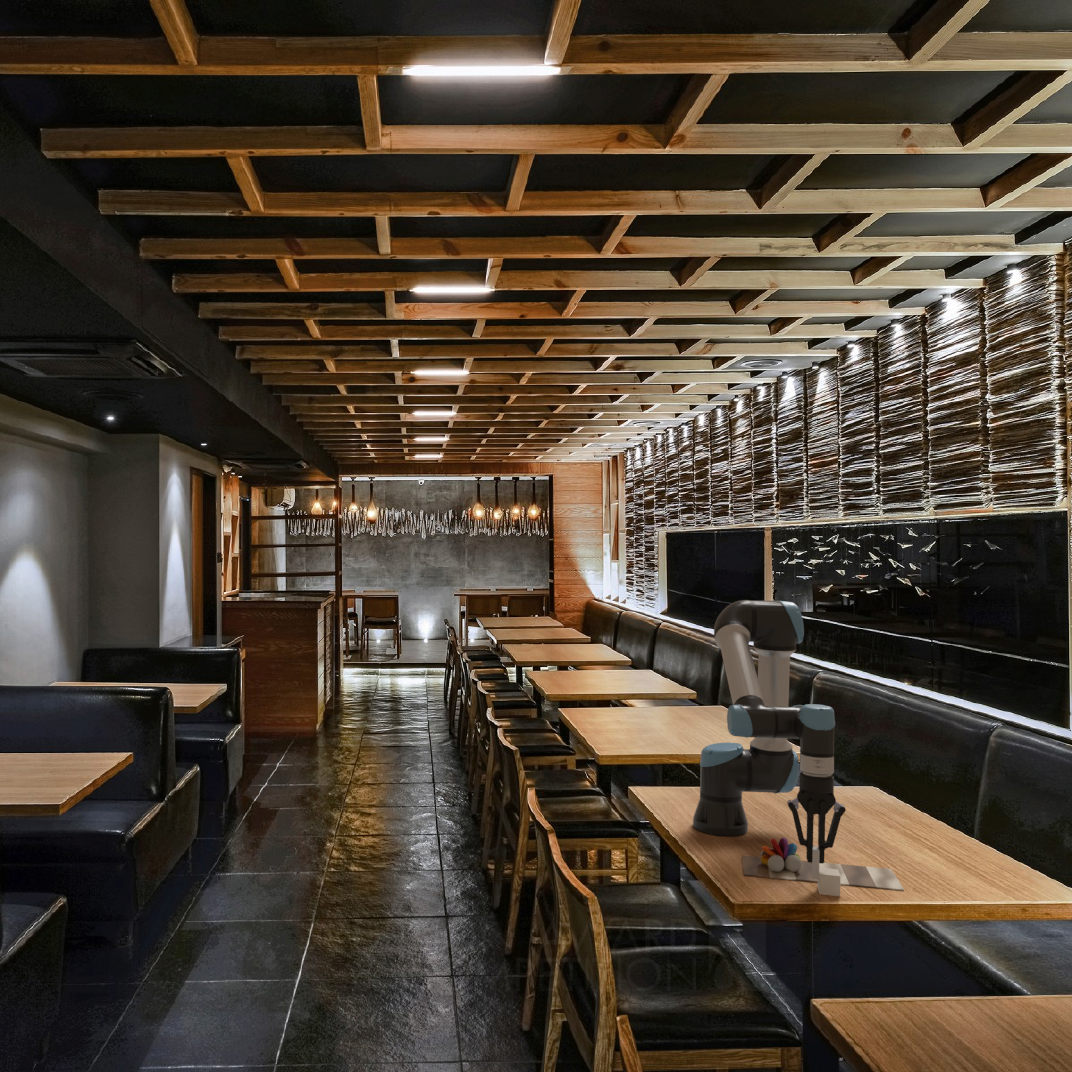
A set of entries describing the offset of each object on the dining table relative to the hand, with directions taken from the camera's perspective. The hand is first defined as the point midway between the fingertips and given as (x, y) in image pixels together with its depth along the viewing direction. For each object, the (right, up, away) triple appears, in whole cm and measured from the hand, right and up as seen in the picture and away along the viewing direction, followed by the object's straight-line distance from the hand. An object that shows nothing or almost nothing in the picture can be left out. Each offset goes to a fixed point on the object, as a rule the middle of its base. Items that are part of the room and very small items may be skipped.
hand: (815, 876), depth 196 cm
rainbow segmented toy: (-4, -3, +13) cm, 14 cm away
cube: (+3, -3, -1) cm, 4 cm away
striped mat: (+5, -4, +11) cm, 13 cm away
